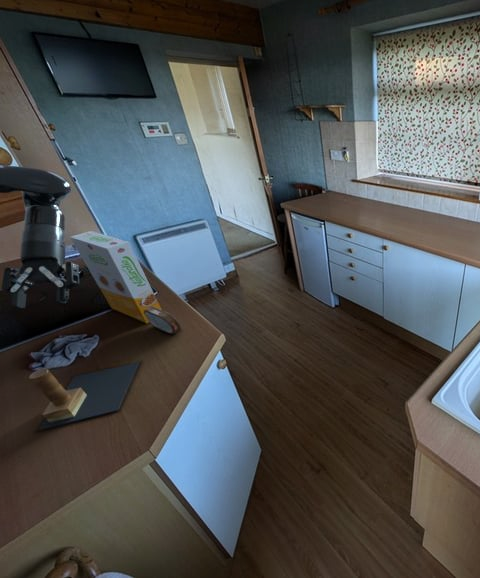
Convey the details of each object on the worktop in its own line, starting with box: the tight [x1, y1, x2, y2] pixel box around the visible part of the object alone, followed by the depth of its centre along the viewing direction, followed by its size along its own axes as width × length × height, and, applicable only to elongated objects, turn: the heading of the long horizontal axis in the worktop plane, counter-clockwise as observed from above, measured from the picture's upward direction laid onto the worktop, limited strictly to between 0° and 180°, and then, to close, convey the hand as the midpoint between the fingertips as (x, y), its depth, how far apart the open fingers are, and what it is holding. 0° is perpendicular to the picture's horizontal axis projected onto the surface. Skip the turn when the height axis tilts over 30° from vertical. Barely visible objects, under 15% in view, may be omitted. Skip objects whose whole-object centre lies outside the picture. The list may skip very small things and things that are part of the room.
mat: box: [38, 362, 140, 432], centre depth 81 cm, size 16×18×1 cm
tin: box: [144, 306, 182, 335], centre depth 103 cm, size 15×3×8 cm, turn 65°
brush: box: [28, 368, 87, 422], centre depth 73 cm, size 5×7×13 cm
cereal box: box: [69, 230, 163, 324], centre depth 106 cm, size 22×6×30 cm, turn 65°
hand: (40, 305), depth 73 cm, fingers open, 8 cm apart
